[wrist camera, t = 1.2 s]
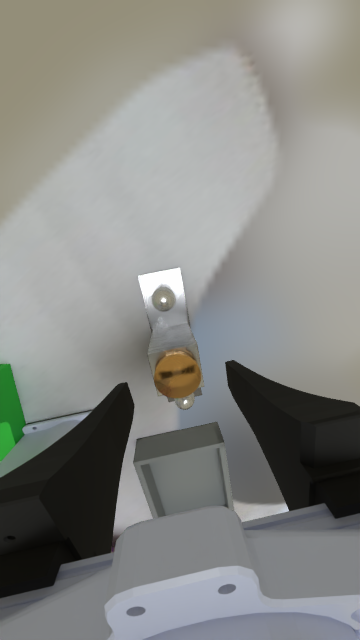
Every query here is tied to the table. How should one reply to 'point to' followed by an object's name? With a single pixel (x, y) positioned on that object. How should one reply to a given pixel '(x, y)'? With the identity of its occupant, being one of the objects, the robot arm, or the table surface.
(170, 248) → the table surface
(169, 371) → the pedestal with gold ball
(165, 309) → the stud posts
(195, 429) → the bin
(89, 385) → the table surface
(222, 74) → the table surface
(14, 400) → the mechanical part
